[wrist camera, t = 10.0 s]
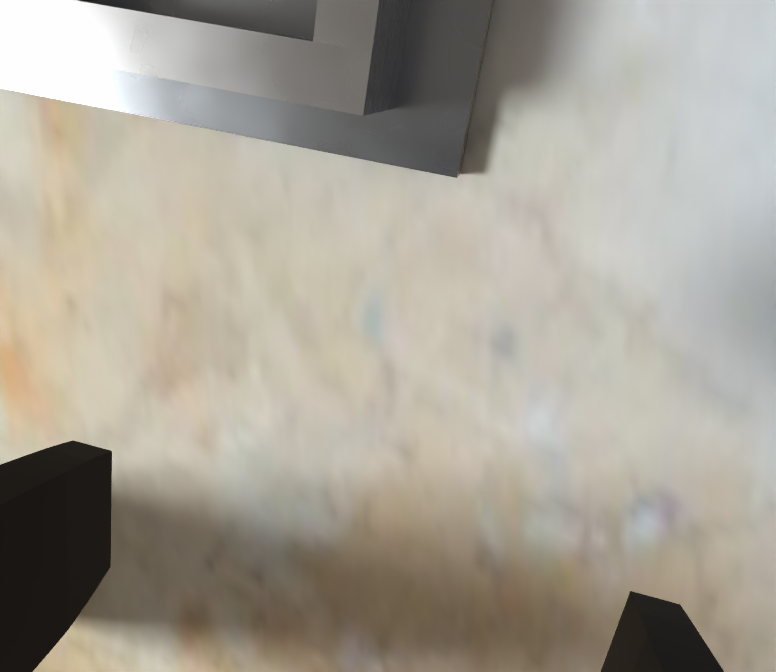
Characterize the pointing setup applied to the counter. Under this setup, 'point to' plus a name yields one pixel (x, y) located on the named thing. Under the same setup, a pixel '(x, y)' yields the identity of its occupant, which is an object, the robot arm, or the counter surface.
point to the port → (265, 68)
